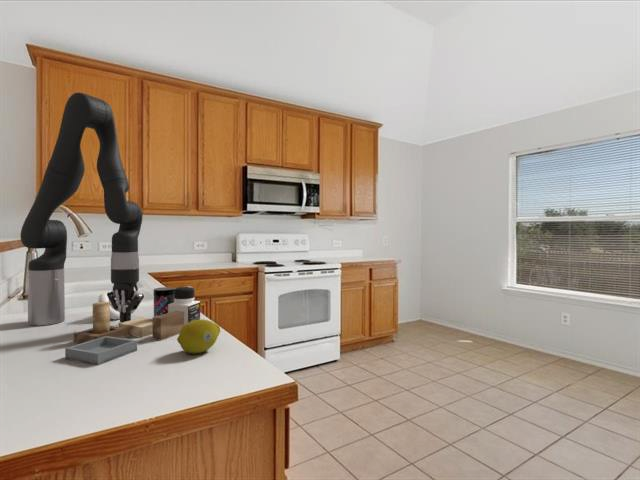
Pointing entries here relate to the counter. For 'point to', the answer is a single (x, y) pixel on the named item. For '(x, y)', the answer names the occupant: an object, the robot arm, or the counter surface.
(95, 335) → the socket block
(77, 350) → the tray
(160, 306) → the supplement container
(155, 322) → the block
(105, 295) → the white knot sculpture
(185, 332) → the lemon
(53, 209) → the robot arm
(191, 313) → the medicine bottle
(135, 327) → the light wooden block
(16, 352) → the counter surface
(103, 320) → the dowel
